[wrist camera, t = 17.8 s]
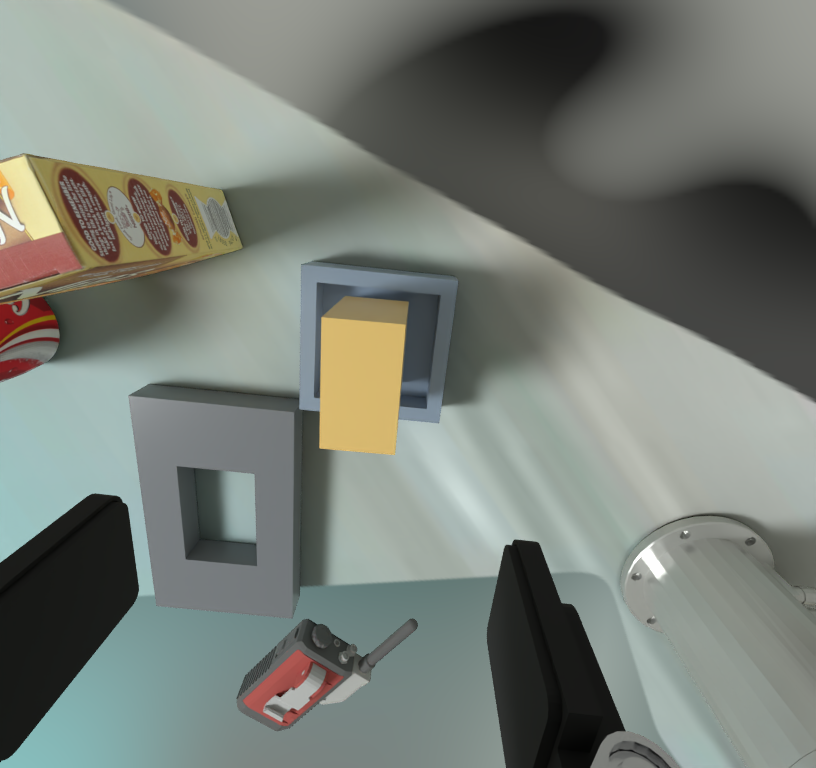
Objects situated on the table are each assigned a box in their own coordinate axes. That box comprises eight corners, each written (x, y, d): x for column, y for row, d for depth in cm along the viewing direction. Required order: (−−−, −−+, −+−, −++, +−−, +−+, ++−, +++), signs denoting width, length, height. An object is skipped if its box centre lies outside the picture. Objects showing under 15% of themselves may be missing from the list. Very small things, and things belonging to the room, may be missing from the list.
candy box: (223, 186, 28) (19, 140, 14) (247, 251, 30) (85, 270, 15) (104, 223, 29) (-202, 215, 15) (133, 284, 31) (-122, 331, 16)
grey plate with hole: (302, 399, 33) (294, 412, 31) (299, 595, 40) (292, 618, 38) (148, 384, 33) (128, 395, 31) (171, 583, 40) (156, 605, 38)
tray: (454, 276, 30) (458, 280, 27) (437, 407, 33) (439, 423, 30) (312, 261, 30) (301, 264, 27) (309, 394, 33) (299, 409, 30)
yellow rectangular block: (409, 294, 30) (405, 324, 20) (401, 388, 32) (394, 455, 22) (352, 289, 30) (321, 317, 20) (348, 384, 32) (319, 448, 22)
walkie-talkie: (303, 718, 46) (424, 615, 41) (292, 766, 42) (425, 658, 37) (235, 680, 45) (352, 567, 39) (216, 726, 40) (345, 607, 35)
